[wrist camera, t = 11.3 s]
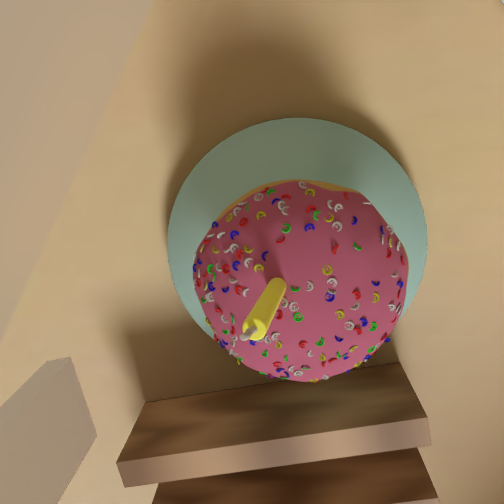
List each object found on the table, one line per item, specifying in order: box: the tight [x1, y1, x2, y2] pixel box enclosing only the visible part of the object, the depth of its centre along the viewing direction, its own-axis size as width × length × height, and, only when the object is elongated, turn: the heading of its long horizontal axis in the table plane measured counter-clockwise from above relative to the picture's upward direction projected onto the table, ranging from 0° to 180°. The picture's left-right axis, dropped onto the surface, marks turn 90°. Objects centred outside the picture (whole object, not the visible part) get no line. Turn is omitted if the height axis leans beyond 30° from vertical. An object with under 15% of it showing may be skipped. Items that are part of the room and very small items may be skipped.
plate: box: [167, 118, 427, 344], centre depth 23 cm, size 13×13×1 cm
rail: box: [116, 362, 431, 487], centre depth 24 cm, size 15×2×5 cm, turn 102°
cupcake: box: [193, 179, 409, 383], centre depth 17 cm, size 9×8×12 cm
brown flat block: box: [152, 447, 439, 504], centre depth 25 cm, size 15×2×5 cm, turn 102°
